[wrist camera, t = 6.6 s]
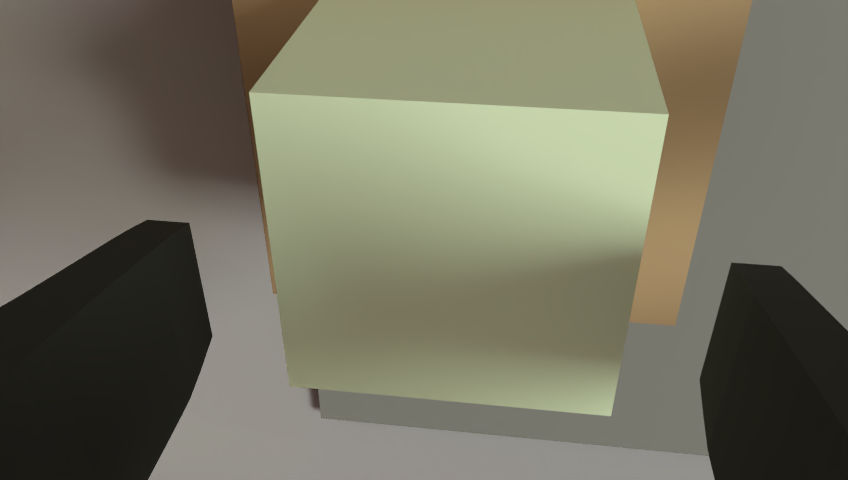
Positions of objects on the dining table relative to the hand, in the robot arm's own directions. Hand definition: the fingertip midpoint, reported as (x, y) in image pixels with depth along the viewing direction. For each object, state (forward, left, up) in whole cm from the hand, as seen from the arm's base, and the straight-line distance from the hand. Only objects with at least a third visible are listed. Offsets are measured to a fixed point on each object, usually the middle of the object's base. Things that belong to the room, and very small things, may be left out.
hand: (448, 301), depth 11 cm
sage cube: (0, 0, -5) cm, 5 cm away
